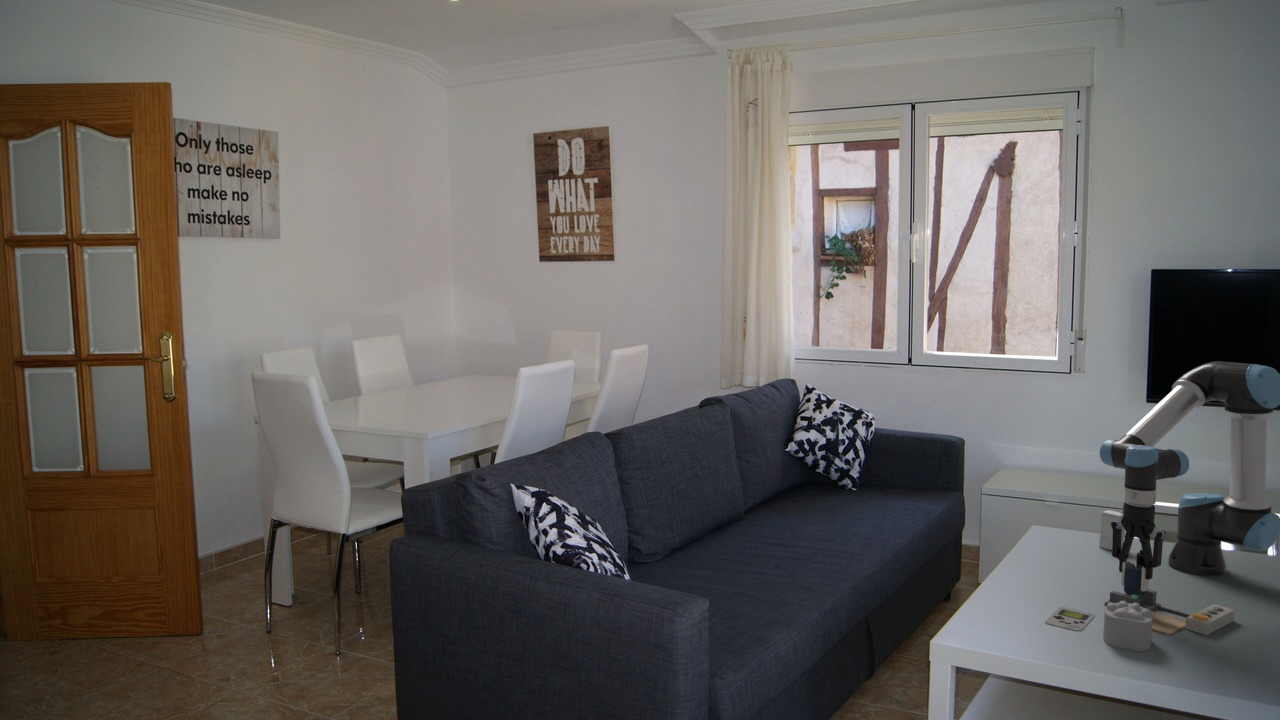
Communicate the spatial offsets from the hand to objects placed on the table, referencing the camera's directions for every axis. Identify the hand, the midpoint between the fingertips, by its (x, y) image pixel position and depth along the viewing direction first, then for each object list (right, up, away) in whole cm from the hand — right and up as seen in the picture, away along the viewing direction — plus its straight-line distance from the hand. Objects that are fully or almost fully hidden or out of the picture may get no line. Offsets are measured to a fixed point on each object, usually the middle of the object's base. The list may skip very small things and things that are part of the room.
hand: (1134, 587), depth 245 cm
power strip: (+13, -7, -12) cm, 19 cm away
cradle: (+3, -6, -4) cm, 8 cm away
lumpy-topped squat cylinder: (-14, -8, -22) cm, 27 cm away
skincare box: (+20, -1, +51) cm, 55 cm away
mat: (-1, -6, -11) cm, 13 cm away
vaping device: (0, -2, 0) cm, 2 cm away
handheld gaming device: (-22, -7, -9) cm, 25 cm away
